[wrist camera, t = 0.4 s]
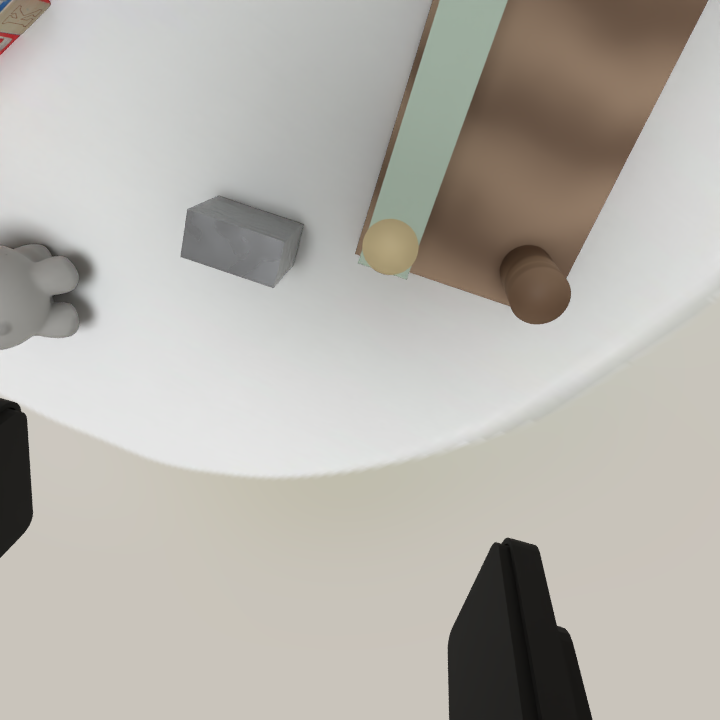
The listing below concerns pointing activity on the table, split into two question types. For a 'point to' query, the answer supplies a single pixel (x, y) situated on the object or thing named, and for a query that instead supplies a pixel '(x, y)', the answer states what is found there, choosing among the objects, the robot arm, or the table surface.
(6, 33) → the stack of blocks
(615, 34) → the stool seat
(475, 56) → the folding leg
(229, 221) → the block
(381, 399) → the table surface
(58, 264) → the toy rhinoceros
